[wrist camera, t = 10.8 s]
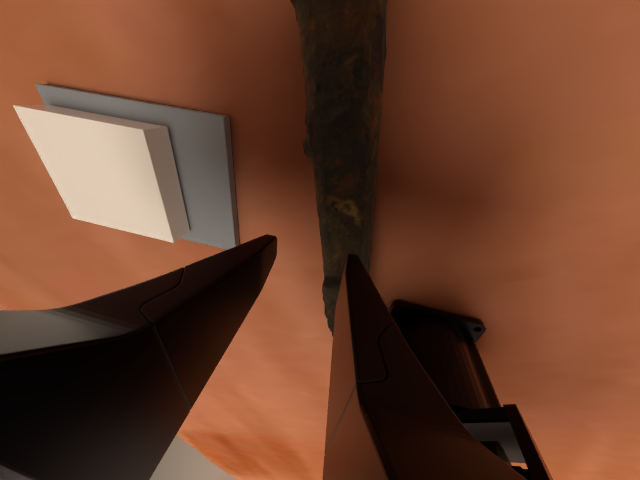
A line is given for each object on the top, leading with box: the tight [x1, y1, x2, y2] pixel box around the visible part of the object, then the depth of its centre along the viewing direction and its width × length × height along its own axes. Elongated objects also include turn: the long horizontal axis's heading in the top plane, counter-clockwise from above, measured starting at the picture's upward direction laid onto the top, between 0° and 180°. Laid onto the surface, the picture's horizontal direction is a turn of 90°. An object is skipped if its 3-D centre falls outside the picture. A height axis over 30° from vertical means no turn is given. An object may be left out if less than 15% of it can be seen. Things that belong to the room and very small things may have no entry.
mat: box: [35, 84, 240, 250], centre depth 15 cm, size 12×9×1 cm
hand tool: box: [291, 0, 387, 336], centre depth 12 cm, size 19×4×5 cm, turn 2°
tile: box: [13, 105, 190, 243], centre depth 15 cm, size 2×7×8 cm
